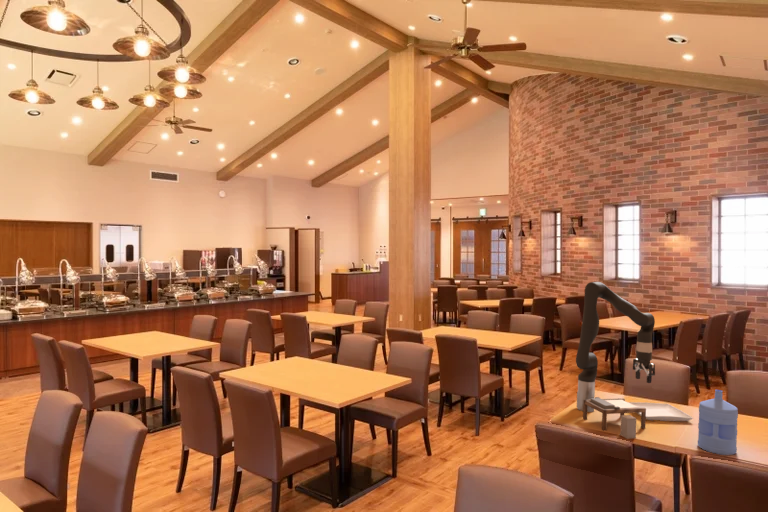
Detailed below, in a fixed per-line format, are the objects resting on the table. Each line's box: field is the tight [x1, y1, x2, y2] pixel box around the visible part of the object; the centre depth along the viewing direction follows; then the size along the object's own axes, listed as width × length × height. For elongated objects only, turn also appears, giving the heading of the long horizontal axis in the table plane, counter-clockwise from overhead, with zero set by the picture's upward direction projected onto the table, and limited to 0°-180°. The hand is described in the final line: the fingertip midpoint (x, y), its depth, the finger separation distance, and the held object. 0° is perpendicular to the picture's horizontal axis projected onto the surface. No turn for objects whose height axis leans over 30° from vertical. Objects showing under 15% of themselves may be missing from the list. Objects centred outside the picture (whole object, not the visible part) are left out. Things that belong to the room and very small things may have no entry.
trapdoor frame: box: [582, 396, 647, 431], centre depth 282 cm, size 24×19×12 cm
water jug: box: [697, 389, 739, 456], centre depth 248 cm, size 16×16×28 cm
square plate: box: [627, 401, 694, 422], centre depth 299 cm, size 27×27×4 cm
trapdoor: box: [591, 397, 639, 409], centre depth 282 cm, size 20×14×4 cm
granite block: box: [619, 414, 637, 440], centre depth 262 cm, size 5×5×10 cm
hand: (643, 380), depth 278 cm, fingers open, 8 cm apart
